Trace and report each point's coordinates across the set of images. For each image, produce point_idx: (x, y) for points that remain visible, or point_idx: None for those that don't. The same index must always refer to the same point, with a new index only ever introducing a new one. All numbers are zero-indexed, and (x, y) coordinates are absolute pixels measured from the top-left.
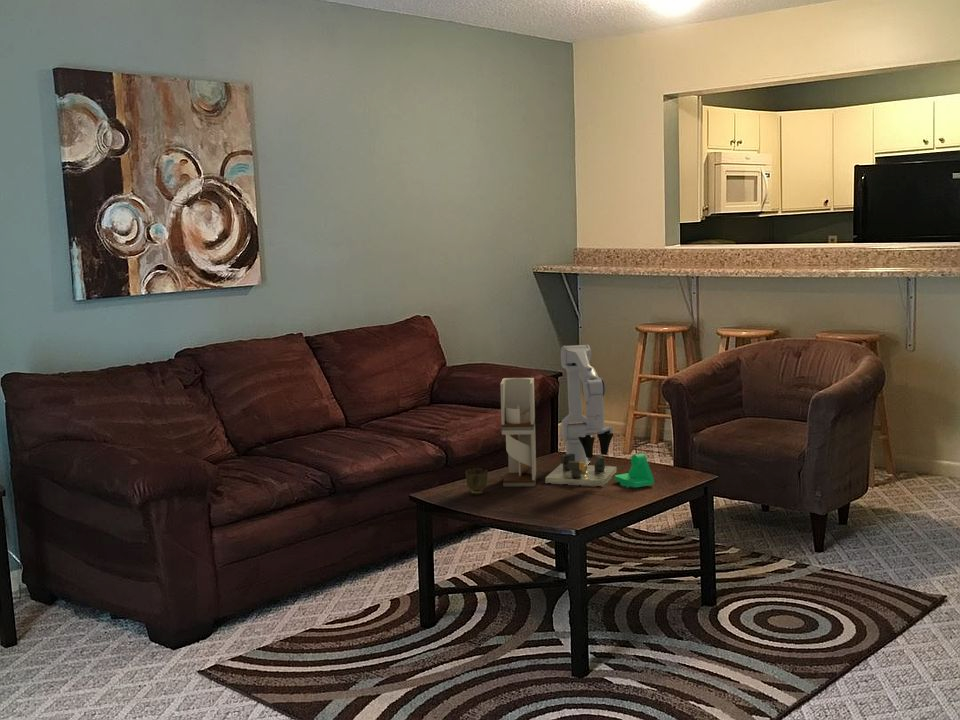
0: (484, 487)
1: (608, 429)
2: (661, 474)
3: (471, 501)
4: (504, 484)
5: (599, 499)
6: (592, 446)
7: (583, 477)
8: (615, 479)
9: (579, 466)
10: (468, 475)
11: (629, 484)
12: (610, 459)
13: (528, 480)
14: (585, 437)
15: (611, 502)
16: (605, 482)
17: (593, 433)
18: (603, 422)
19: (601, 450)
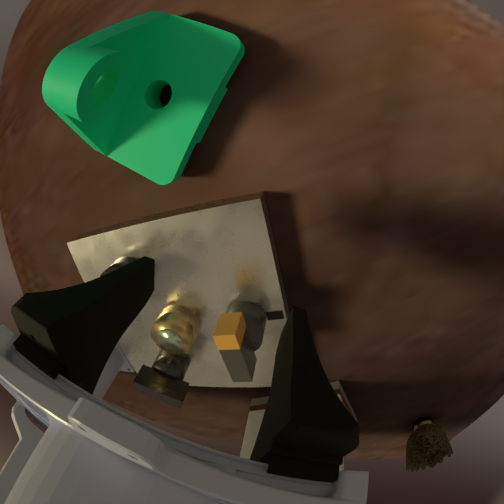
0: (431, 425)
1: (16, 365)
2: (37, 103)
3: (468, 404)
4: (357, 421)
5: (442, 140)
6: (300, 364)
7: (243, 294)
8: (179, 175)
9: (243, 336)
10: (444, 455)
11: (227, 79)
12: (27, 292)
13: (344, 402)
14: (337, 463)
15: (458, 86)
16: (222, 201)
17: (195, 456)
18: (47, 497)
19: (141, 303)
